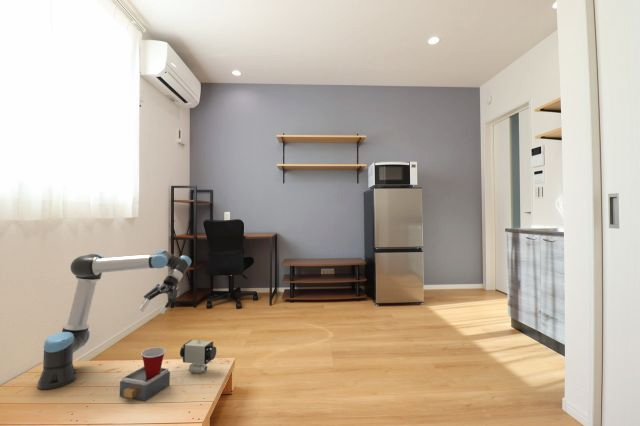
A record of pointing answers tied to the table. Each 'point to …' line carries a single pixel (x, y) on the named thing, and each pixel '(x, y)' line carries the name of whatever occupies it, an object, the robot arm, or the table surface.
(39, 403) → the table surface
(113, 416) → the table surface
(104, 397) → the table surface
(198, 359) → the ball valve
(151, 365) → the plastic cup
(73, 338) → the robot arm
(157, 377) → the square tray with tab
